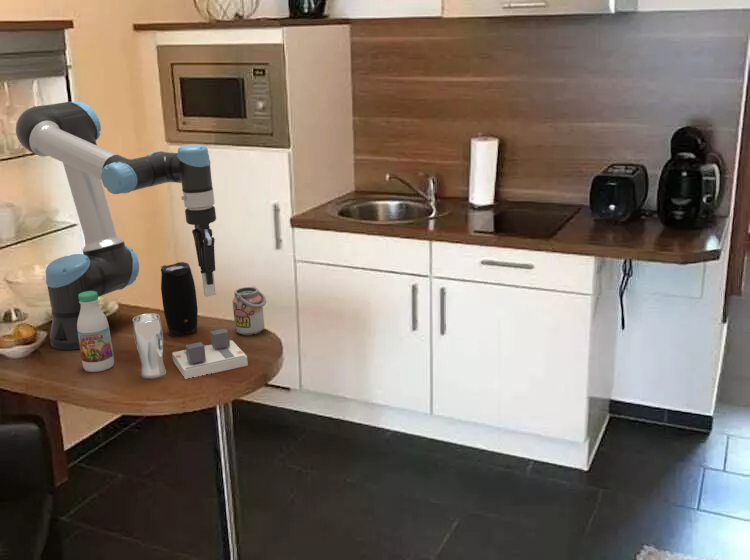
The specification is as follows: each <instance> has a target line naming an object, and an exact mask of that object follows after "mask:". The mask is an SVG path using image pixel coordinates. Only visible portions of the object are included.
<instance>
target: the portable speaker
mask: <svg viewBox="0 0 750 560" xmlns="http://www.w3.org/2000/svg"><path fill="white" fill-rule="evenodd" d="M160 268H161V269H160V271H161V275H160V290H161V291H160V292H161V299H162V307H163V312H164V318H165V321H166V326H167V330H168V333H169V335H170V336H172V337H179V338H180V336H181V335H183V334H190V335H193V334H195V333H197V331H198V298H197V291H196V285H195V280H194V276H193V273H192V270H191V267H190V264H189V263H187V262H185V261H180V262H176V263H174V264H168V265H165V264H164V265H162V266H160Z"/></svg>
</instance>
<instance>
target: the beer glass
mask: <svg viewBox="0 0 750 560" xmlns="http://www.w3.org/2000/svg"><path fill="white" fill-rule="evenodd" d="M132 330H133V331H132V332H133V339H134V343H135V346H136V349H137V353H138V356H139V360H140V363H141V367H140V369H141V372H140V376H141V378H143V379H147V380H153V379H154V380H155V379H158V378H159V379H160V378H162V377H163V376H165V375H166V374H167V369H166V366H165V363H164V357H163V356H164V331H163V325H162V320H161V316H160V314H158V313H153V312H151V313H149V312H148V313H143V314H139V315H136V316H134V317H133V318H132ZM161 376H162V377H161Z"/></svg>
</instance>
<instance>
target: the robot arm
mask: <svg viewBox="0 0 750 560" xmlns="http://www.w3.org/2000/svg"><path fill="white" fill-rule="evenodd" d="M101 131H102V126H101V121H100V119H99V117H98V114H97V113H96V112H95V110H94V109H93V108H92V107H91V106H89V105H88V104H87V103H85V102H83V101H82V102H81V101H65V102H59V103H52V104H46V105H44V104H43V105H37V106H33V107H30V108H27V109H26V110H24V111H23V112H22V113H21V114H20V115H19V117H18V119H17V121H16V125H15V134H16V138H17V140H18V142H19V143H20V145H21V146H22V147H23V148H25V149H26V150H27V151H29V152H30V153H32V154H34V155H36V156H38V157H43V158H44V157H50V158H52V159H55V160H57V161H59V162H61V163H62V164H63V165H62V166H63V168H64V171H65V175H66V179H67V181H68V185H69V189H70V192H71V196H72V200H73V203H74V207H75V210H76V213H77V216H78V219H79V222H80V224H79V225H80V227H81V230H82V233H83V237H84V240H85V245H84V247H83V249H82V253H83V254H82V253H73V254H70V255H64V256H60V257H59V258H56V259H54V260H52V261H51V262H50V263H48V265H47V266H46V267H45V284H46V285H47V291H48V297H49V302H50V308H51V314H52V322H51V325H50V333H49V342H50V346H51V347H52V348H54V349H57V350H63V351H64V350H65V351H67V350H68V351H71V350H78V349H80V345H79V338H78V331H77V321H78V317H79V314H80V309H81V304H80V303H79V298H78V295H79V294H80V293H82V292H86V291H96V292H97V294H98V298H99V297H102V296H104V295H108V294H111V293H113V292H115V291H116V292H117V291H120V290H123V289H125V288H126V287H129V286H131V285H133V284H134V283H135V282H136V280H137V278H138V276H139V273H140V263H139V258H138V255H137V253H136V252H135V251H134V249H133V248H132V247H130V246H127V245H126V244H125V240H124V239H123V238H120V237H118V236H117V232H116V228H115V225H114V222H113V219H112V214H111V211H110V208H109V204H108V201H107V198H106V194H105V190H104V188H105V189H106V190H107V192H109V193H110V194H113V195H120V194H128V193H130V192H134V191H139V190H142V189H145V188H150V187H154V186H158V185H163V184H166V183H178V184H181V189H182V191H181V192H182V196H180V198H181V200H183V203H184V204H183V205H184V208H185V210H184V214H185V221H186V223H187V224H188V225H191V226H193V227H194V228H193V229H192V230H191V233H192V236H193V239H194V241H193V242H194V247H195V250H196V251H195V252H196V257H197V262H198V267H200V274H201V278H202V279H201V280H202V287H203V294H204V297H206V298H207V297H211V296H212V297H213V296H216V295H217V293H216V285H215V277H214V272H215V271H216V259H215V258H216V257H215V237H214V236H213V230H212V228H211V227H210V224H211V223H215V222H216V220H217V215H216V207H215V206H214V205H215V195H214V188H213V179H212V171H211V170H212V169H211V159H210V154H209V150H208V148H207V146H206V145H204V144H187V145H183V146H180V147H178V148H177V152H166V151H152V152H150V153H147V155H146V156H142V157H136V158H132V159H131V158H127V157H125V156H122V155H119V154H117V153H115V152H113V151H110V150H108V149H105V148H103V147H101V146H98V144H97V140H98V139H99V138H100V136H101Z"/></svg>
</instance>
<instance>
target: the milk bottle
mask: <svg viewBox="0 0 750 560" xmlns="http://www.w3.org/2000/svg"><path fill="white" fill-rule="evenodd" d="M78 298H79V303H80V304H81V309H80V314H79V317H78V321H77V331H78V338H79V345H80V350H79V351H80V357H81V361H82V362H81V363H82V367H83V370H85V372H89V373H97V372H98V373H99V372H103V371H106V370H109V369H111V368H112V367H114V365H115V357H114V352H113V351H114V350H113V344H112V337H111V331H110V330H111V329H110V326H109V321H108V318H107V316H106V315H105V313H104V312H103V311H102V308H101V307H100V305H99V302H98V301H99V297H98V294H97V292H96V291H86V292H82V293H80V294H79V295H78Z"/></svg>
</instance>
